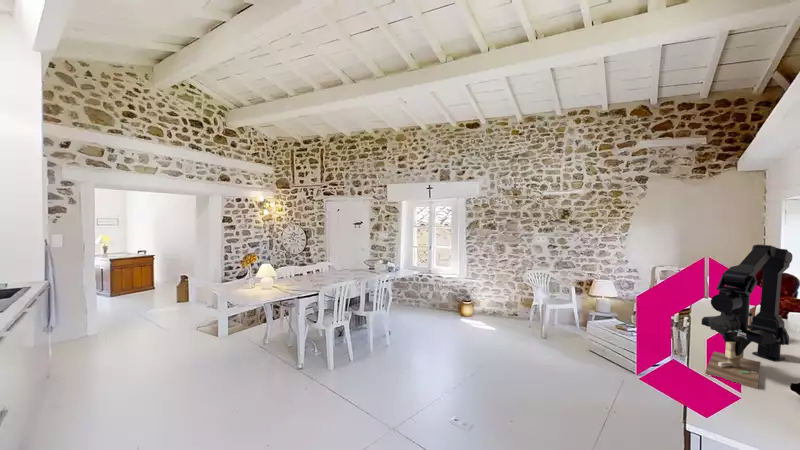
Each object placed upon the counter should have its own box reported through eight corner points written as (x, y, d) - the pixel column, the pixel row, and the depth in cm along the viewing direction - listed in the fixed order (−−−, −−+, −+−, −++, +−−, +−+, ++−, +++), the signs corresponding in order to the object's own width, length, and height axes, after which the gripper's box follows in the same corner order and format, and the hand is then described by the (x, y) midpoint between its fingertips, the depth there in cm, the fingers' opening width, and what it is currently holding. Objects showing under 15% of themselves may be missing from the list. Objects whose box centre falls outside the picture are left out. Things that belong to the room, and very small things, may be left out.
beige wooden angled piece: (735, 363, 121) (736, 340, 120) (745, 367, 118) (746, 343, 117) (714, 364, 119) (716, 341, 119) (724, 369, 116) (725, 345, 116)
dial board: (713, 355, 131) (714, 350, 131) (760, 366, 122) (760, 361, 122) (705, 375, 116) (705, 369, 116) (757, 389, 107) (757, 383, 107)
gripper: (689, 301, 126) (686, 344, 127) (747, 318, 107) (744, 368, 108) (716, 300, 127) (713, 343, 128) (778, 316, 109) (775, 366, 110)
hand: (734, 354), depth 118 cm, fingers closed on beige wooden angled piece, 2 cm apart
